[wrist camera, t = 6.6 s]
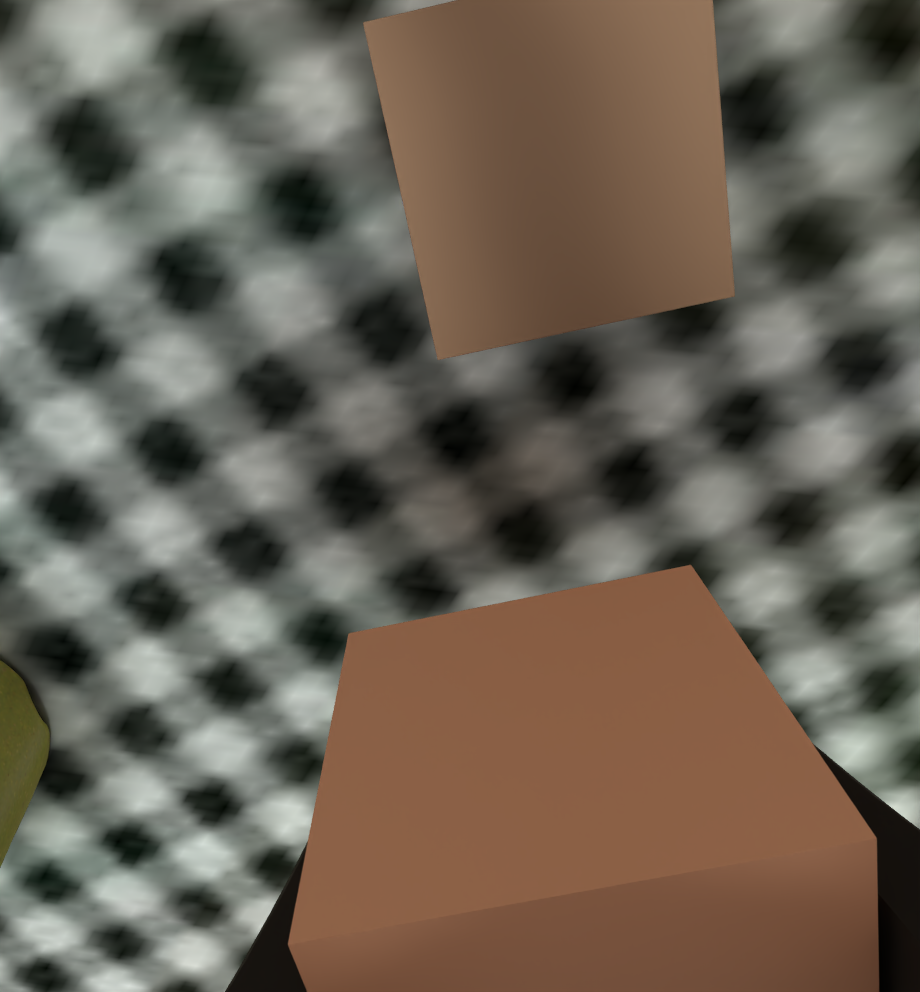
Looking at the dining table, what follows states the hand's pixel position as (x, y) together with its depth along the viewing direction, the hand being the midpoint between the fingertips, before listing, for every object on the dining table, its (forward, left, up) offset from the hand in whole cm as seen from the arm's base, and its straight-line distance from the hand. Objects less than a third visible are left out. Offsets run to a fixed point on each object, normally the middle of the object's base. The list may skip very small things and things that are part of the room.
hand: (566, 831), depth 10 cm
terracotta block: (0, 0, -2) cm, 2 cm away
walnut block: (-2, -8, -10) cm, 13 cm away
